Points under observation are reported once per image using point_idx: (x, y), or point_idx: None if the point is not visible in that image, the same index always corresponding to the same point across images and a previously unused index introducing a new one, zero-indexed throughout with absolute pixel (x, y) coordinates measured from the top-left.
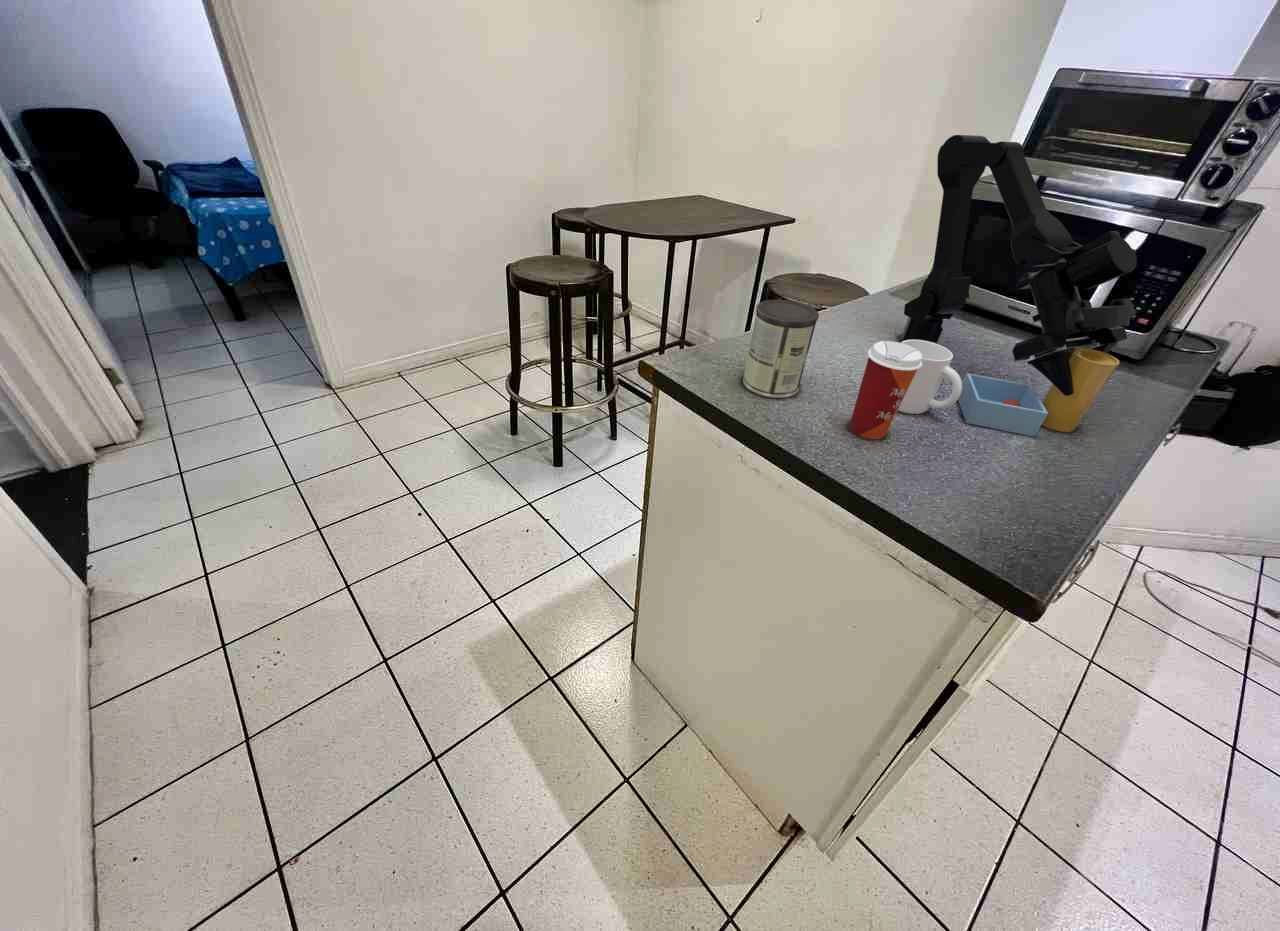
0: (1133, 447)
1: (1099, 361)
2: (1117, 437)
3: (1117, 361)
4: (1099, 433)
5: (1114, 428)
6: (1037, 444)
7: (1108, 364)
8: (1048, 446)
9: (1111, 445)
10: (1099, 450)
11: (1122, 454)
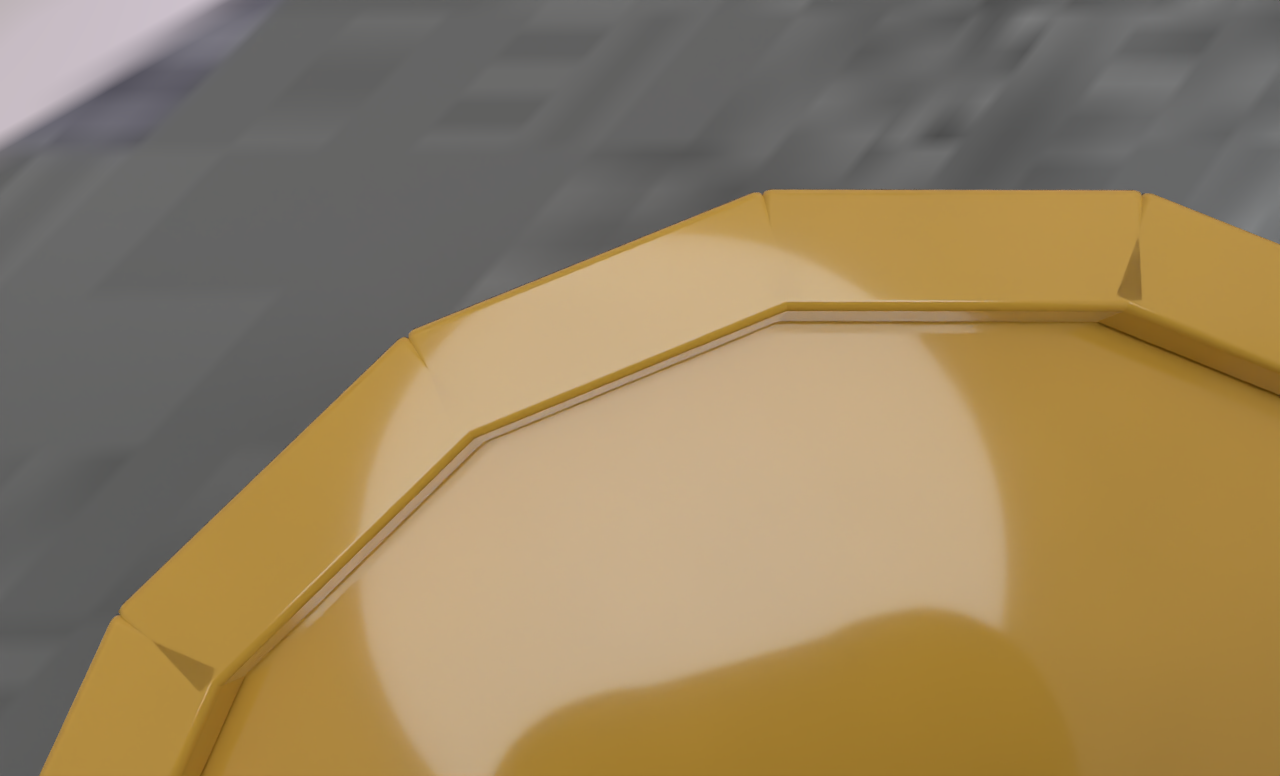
0: (151, 158)
1: (1059, 731)
2: (164, 342)
3: (229, 623)
4: (313, 419)
5: (31, 525)
6: (1209, 203)
7: (1061, 240)
8: (1110, 169)
9: (374, 192)
10: (590, 103)
11: (393, 37)
